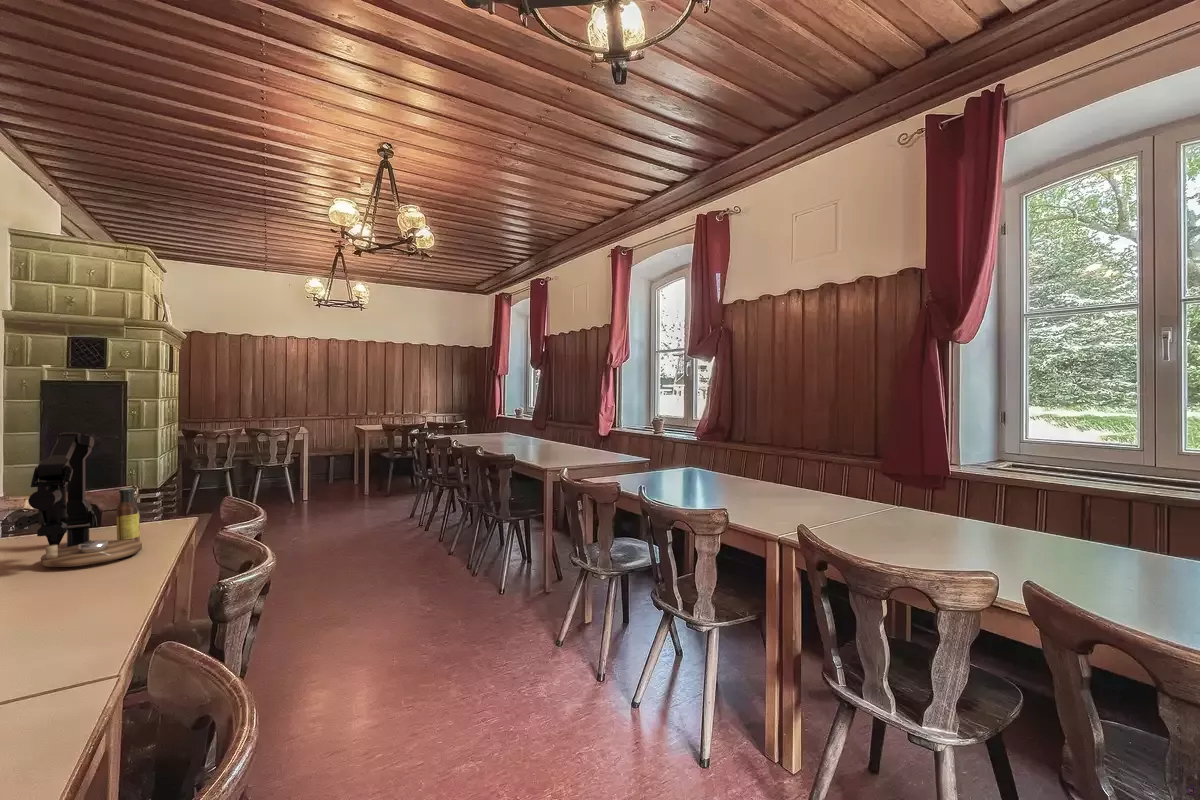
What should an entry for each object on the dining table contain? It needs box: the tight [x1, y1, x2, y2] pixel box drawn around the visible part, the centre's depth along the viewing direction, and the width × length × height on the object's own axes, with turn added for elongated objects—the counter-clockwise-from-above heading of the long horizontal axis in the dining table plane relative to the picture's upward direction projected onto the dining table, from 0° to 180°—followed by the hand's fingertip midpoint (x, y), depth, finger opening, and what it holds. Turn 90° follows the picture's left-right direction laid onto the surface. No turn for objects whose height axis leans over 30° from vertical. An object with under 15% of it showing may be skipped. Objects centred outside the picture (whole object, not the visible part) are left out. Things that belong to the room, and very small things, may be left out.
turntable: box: [40, 539, 143, 568], centre depth 172 cm, size 24×24×6 cm
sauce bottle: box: [115, 487, 141, 541], centre depth 191 cm, size 7×6×20 cm
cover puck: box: [79, 539, 109, 554], centre depth 172 cm, size 7×7×2 cm
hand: (53, 550), depth 165 cm, fingers closed
